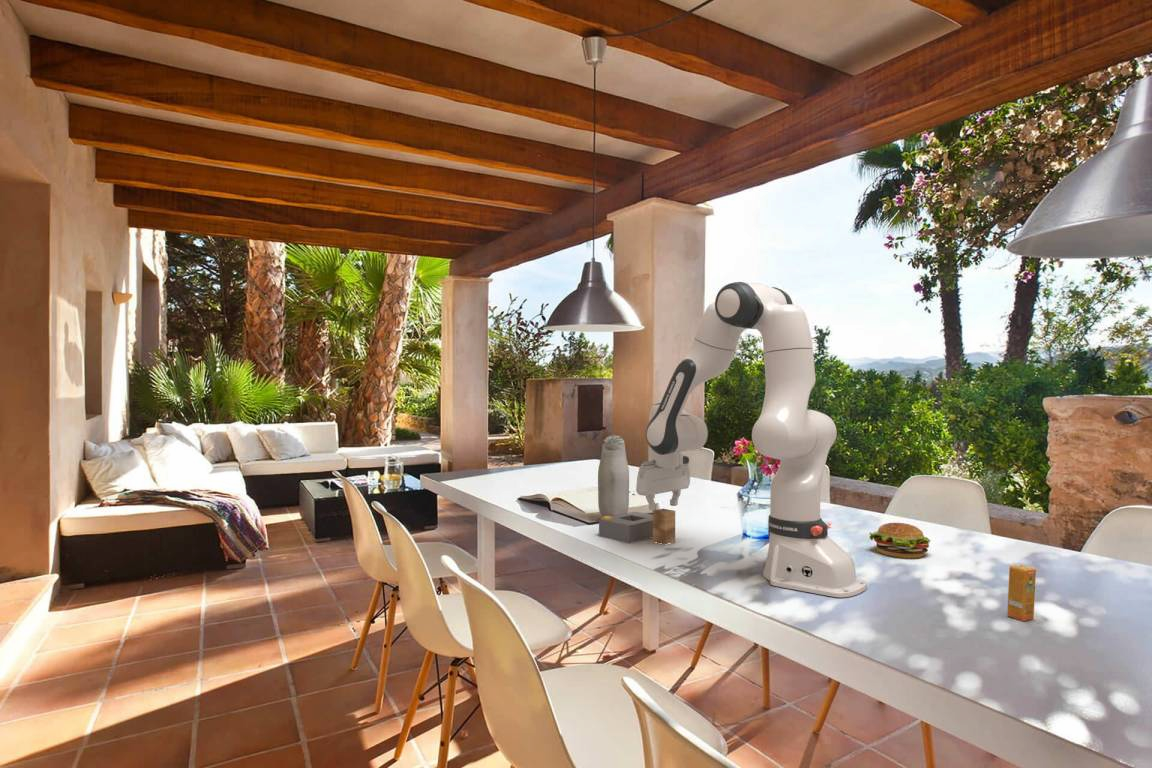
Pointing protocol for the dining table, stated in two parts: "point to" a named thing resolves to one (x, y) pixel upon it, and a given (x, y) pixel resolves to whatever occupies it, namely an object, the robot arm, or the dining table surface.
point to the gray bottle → (613, 478)
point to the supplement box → (1021, 592)
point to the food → (900, 540)
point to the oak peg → (664, 526)
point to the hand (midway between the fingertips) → (663, 507)
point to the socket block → (627, 526)
